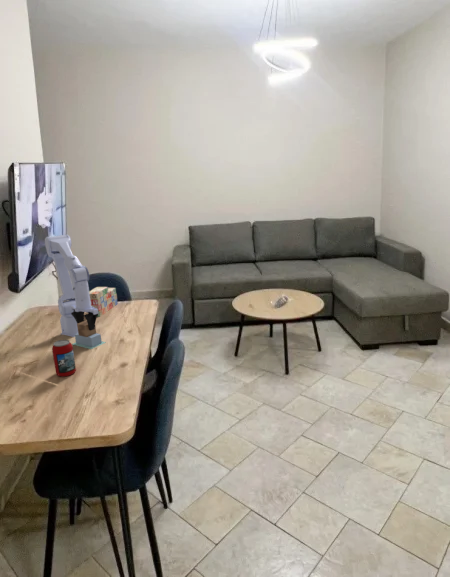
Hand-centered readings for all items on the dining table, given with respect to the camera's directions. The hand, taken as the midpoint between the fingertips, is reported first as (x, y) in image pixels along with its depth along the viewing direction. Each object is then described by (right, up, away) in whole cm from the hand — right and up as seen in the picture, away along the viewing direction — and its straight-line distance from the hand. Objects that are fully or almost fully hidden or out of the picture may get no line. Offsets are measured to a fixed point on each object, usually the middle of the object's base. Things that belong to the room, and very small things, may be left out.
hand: (86, 328), depth 179 cm
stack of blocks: (-6, +5, +48) cm, 49 cm away
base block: (0, -6, +2) cm, 6 cm away
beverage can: (+1, -14, -25) cm, 28 cm away
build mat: (0, -8, -3) cm, 8 cm away
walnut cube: (0, -2, +1) cm, 2 cm away
